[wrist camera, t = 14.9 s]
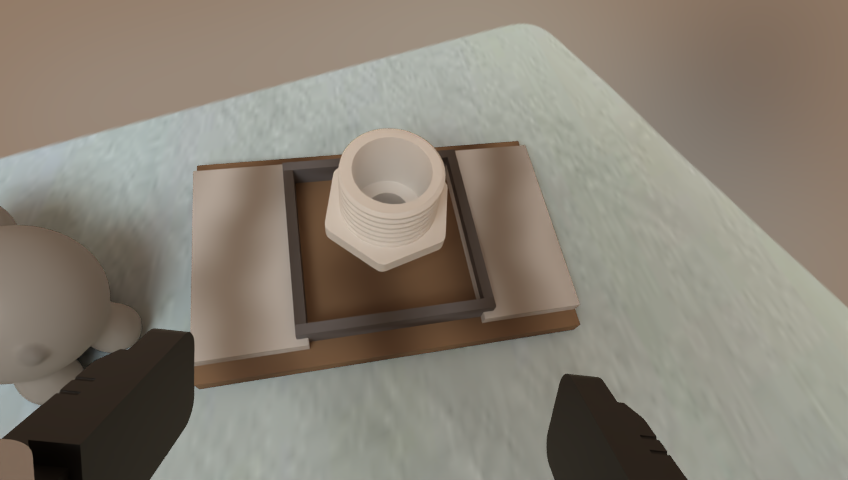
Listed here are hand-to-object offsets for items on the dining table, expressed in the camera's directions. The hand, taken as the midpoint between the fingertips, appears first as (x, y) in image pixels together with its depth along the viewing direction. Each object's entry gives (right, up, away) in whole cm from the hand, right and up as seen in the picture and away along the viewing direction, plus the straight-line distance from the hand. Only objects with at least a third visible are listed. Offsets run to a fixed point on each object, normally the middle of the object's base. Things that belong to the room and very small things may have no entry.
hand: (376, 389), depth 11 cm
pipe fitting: (-1, +3, +20) cm, 21 cm away
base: (-2, +3, +21) cm, 21 cm away
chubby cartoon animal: (-20, 0, +17) cm, 26 cm away
